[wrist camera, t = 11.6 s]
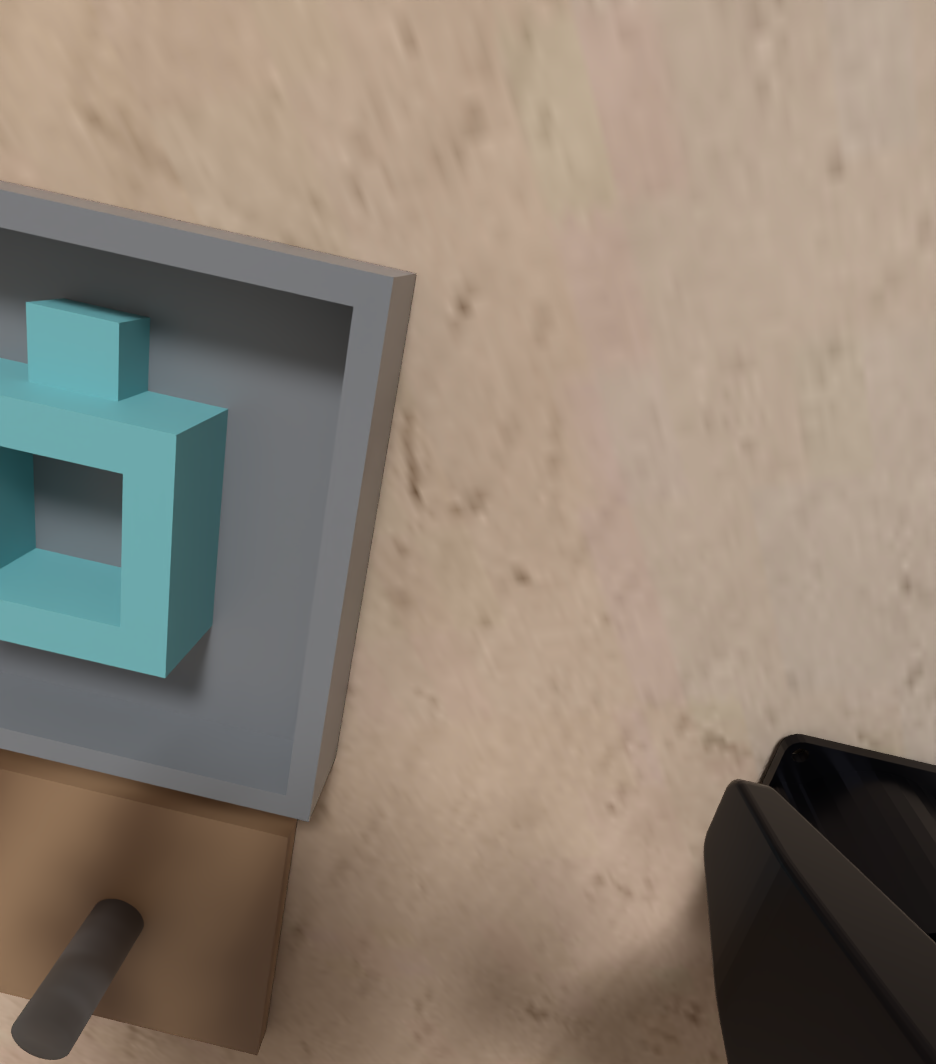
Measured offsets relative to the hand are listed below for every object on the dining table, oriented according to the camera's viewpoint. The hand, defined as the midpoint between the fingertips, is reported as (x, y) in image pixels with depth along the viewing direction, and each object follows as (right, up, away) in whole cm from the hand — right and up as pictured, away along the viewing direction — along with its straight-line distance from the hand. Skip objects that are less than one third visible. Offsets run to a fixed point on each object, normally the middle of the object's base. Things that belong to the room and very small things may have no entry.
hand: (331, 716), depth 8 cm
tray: (-9, +3, +14) cm, 17 cm away
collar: (-9, +3, +13) cm, 16 cm away
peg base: (-12, -12, +20) cm, 26 cm away
